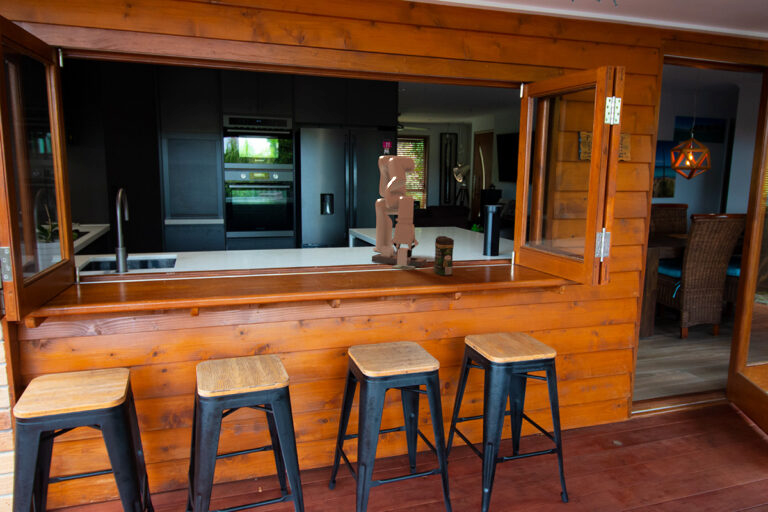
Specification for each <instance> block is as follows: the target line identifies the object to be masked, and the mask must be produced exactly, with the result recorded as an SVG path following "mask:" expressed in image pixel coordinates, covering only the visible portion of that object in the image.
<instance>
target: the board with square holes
mask: <svg viewBox="0 0 768 512" xmlns="http://www.w3.org/2000/svg"><path fill="white" fill-rule="evenodd" d="M427 261H428V259H427V258H421V257H412V256H411V259H410V264H409V265H407V266H414V267H415V268H422V267H425V266H427ZM371 262H372V263H380V264H388V265H389V264H390V265H398V264H397V255H394V257H391V258H388V257H381V253H376V254H374V255H371ZM405 266H406V265H405Z"/></svg>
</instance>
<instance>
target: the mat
mask: <svg viewBox="0 0 768 512" xmlns="http://www.w3.org/2000/svg"><path fill="white" fill-rule="evenodd" d="M391 268H392V269H398V270H406V271H411V270H414V269H416V267H414V266H405V265H396V264H394V265H393V266H391Z"/></svg>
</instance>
